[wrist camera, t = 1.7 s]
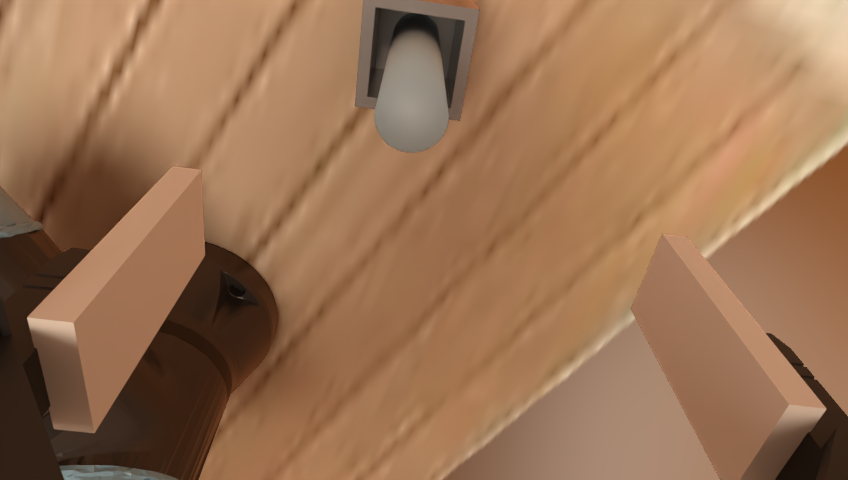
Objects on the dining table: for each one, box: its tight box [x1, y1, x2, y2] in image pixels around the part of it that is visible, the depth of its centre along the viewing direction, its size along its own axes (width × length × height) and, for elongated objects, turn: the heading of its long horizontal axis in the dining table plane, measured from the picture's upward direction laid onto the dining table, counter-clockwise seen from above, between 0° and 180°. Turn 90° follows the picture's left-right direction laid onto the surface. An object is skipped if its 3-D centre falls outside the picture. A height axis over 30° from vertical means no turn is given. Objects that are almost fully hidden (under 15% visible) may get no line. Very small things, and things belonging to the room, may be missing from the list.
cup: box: [355, 0, 480, 121], centre depth 38 cm, size 7×7×8 cm
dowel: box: [374, 13, 449, 153], centre depth 32 cm, size 3×3×18 cm
